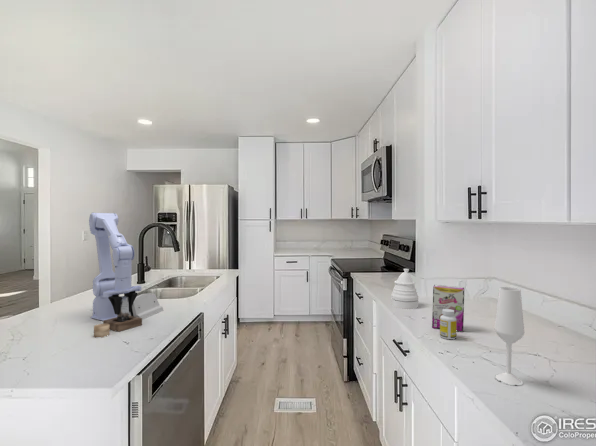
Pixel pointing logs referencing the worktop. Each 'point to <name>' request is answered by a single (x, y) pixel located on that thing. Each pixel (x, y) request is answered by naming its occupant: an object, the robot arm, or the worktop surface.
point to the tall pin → (124, 309)
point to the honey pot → (404, 292)
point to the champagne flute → (509, 326)
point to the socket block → (123, 323)
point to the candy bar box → (448, 304)
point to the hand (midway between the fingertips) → (122, 312)
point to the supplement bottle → (448, 324)
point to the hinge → (145, 306)
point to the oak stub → (101, 330)
